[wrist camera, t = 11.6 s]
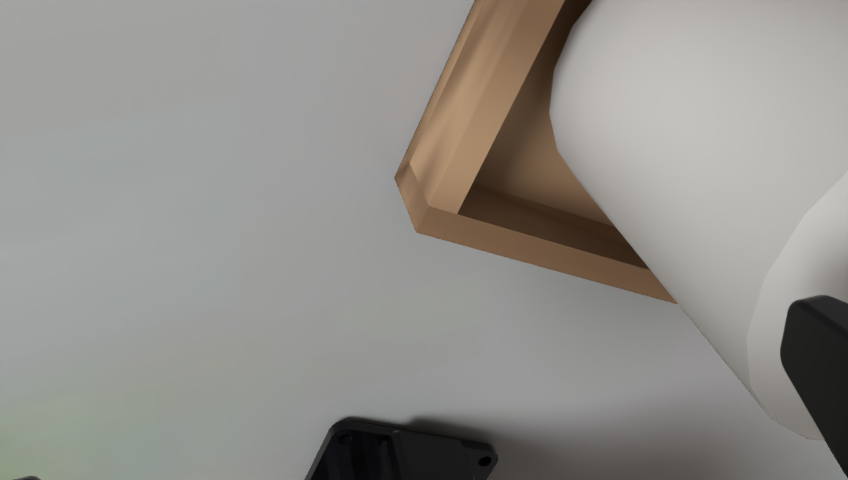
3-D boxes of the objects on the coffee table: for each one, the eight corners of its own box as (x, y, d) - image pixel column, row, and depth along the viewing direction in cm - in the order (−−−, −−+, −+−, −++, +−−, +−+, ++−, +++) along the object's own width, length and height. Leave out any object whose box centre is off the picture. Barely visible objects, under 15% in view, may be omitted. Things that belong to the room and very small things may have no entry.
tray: (702, 270, 27) (750, 324, 24) (394, 177, 22) (416, 232, 20) (929, -62, 22) (1018, -36, 20) (594, -263, 18) (655, -264, 15)
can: (834, 61, 23) (1305, 308, 13) (635, 234, 25) (914, 567, 15) (707, -140, 19) (1239, -8, 9) (482, 83, 21) (720, 395, 11)
